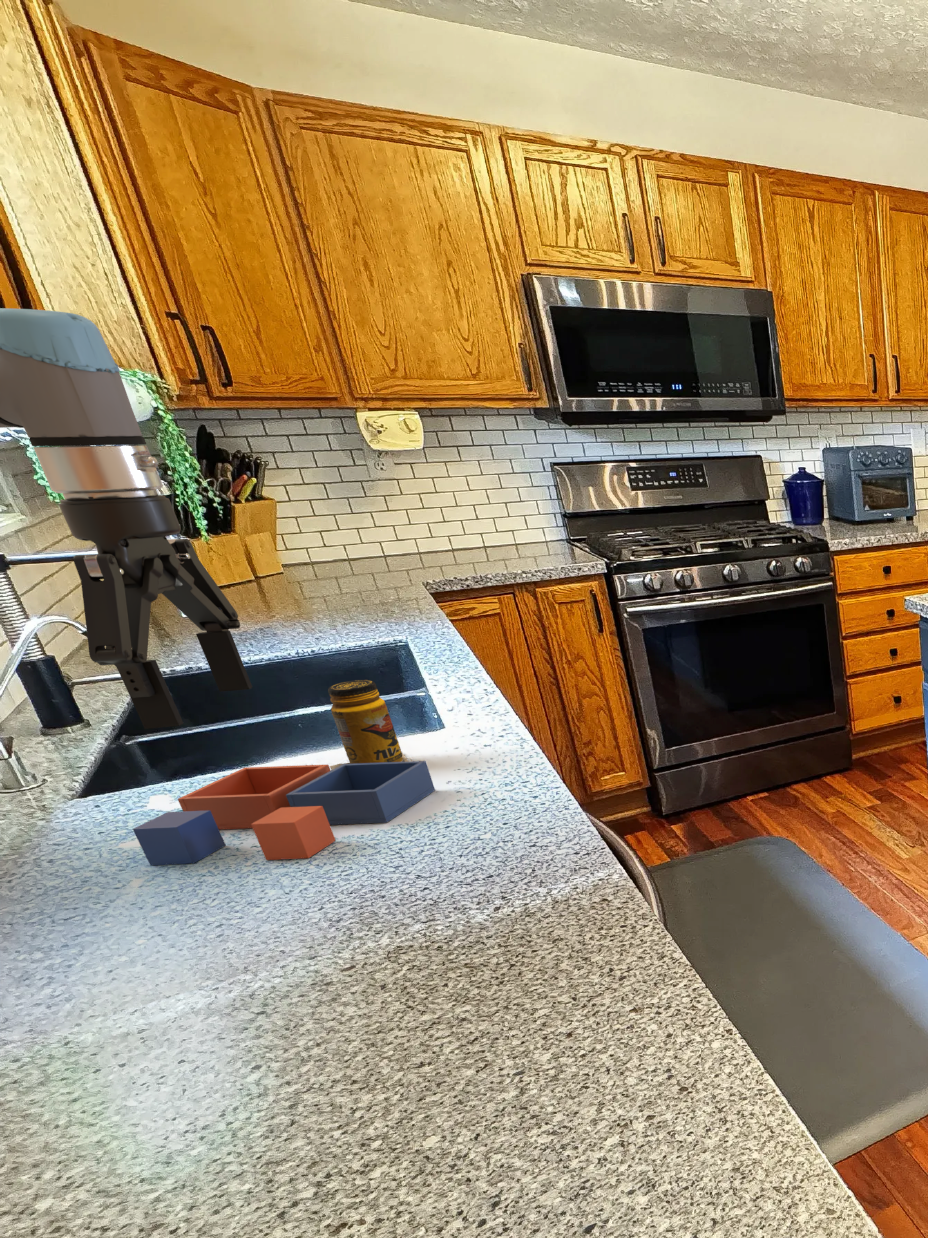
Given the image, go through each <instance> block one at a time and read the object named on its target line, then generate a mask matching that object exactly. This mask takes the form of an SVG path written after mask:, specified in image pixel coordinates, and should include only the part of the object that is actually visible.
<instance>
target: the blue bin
mask: <svg viewBox="0 0 928 1238" xmlns="http://www.w3.org/2000/svg"><path fill="white" fill-rule="evenodd" d="M408 761H409V762H381V763H354V764H344V763H341V764H342V765H340V766H339V767H337V768H335V769H333V770H331V769H330V770H331V771H329V772H327V773H326V774H324V775H322V776H320V777H318V778H316V779H314V780H312V781H311V782H309V783H307V784H305V785H303V786H301V787H299V788H297V789H296V790H294V791H292V792H290V793H288V794H286V797H287V799H288V802H289V804H290V807H308V806H323V809H324V811H325V814H326V816H327V819H328V822H329V824H330V826H339V825H363V824H385V823H389V822H390V821H392V820H393V819H395V818H396V817H398V816H399V815H401V814H402V813H404V812H406V810H409V808H411V807H412V806H414V805H415V804H417V803H418V802H420V801H421V800H423V799H425V798H426V797H428V796H429V795H430V794H432V793H433V792H435V791H436V789H435V786H434V782H433V780H432V779H433V778H432V776H431V773H430V769H429V765H428V764H427V761H426V760H408Z"/></svg>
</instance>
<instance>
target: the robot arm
mask: <svg viewBox="0 0 928 1238" xmlns="http://www.w3.org/2000/svg"><path fill="white" fill-rule="evenodd" d="M2 428H3V429H5V428H18V429H24V431H25V433H26V435H27V437H28V438H29V439H28V440H29V442H30V445H31V446H32V447H33V450H34V453H35V454H36V457H37V459H38V462H39V465H40V466H41V469H42V471H43V474H44V476H45V479H46V480H47V483H48V486H49V487H50V490H51V491H52V492H54V493H55V494H62V496H63V499H60V500H59V503H58V506H59V509H60V510H61V513H62V516H63V518H64V520H65V522H66V524H67V526H68V528H69V531H70V533H71V535H72V537H73V538H75V539H77V540H79V541H86V542H89V541H90V542H92V543H93V544H95V548H96V551H97V554H95V553H94V554H76V555H74V556H73V559H72V560H73V563H74V566H75V569H76V571H77V574H78V577H79V580H80V585H81V591H82V592H81V594H82V601H83V608H84V609H83V611H84V619H85V629H86V637H87V647H88V655H89V659H91V661H92V662H93V663H97V664H98V665H99V666H112V665H113V666H115V668H116V669H117V671H118V674H119V676H120V678H121V680H122V683H123V685H124V687H125V689H126V691H127V693H128V695H129V698H130V701H131V702H132V704H133V706H134V708H135V711H136V713H137V715H138V717H139V719H140V722H141V724H142V726H143V728H144V730H147V729H148V730H149V729H159V728H170V727H171V728H172V727H180V726H182V725H184V721H183V719H182V717H181V715H180V713H179V710H178V708H177V706H176V703H175V701H174V699H173V696H172V694H171V692H170V689H169V688H168V685H167V683H166V680H165V678H164V675H163V673H162V671H161V669H160V667H159V665H158V661H157V660H156V659H148V649H149V636H150V624H151V623H150V622H151V608H152V603H153V602H154V601H156V600H157V599H158V598H159V595H160V594H161V595H163V596H164V597H165V598H166V599H167V600H168V601H169V602H171V604H172V605H174V606H175V607H176V609H178V610H179V611H180V612H181V613H182V614H184V616H185V617H186V618H188V619H189V620H190V621H191V622H192V623H193V624H194V625H195V626H196V627H197V628H198V629H199V630H200V631H201V632H197V633H195V636H196V638H197V640H198V643H199V644H200V648H201V650H202V653H203V655H204V657H205V660H206V662H207V664H208V667H209V669H210V672H211V674H212V677H213V679H214V681H215V684H216V686H217V688H218V691H219V692H232V691H234V692H235V691H246V690H251V689H253V685H252V682H251V680H250V677H249V674H248V673H247V670H246V667H245V665H244V662H243V660H242V657H241V655H240V652H239V649H238V647H237V644H236V642H235V640H234V637H233V635H232V632H231V630H236V629H237V630H239V629H240V628H241V622H240V620H239V614H238V612H237V610H236V608H235V607H234V606H233V605H232V604H231V602H230V601H229V599H228V598H227V596H226V595H225V593H224V592H223V591H222V590H221V588H220V587H219V586H218V584H217V583H216V581H215V580H214V579H213V577H212V575H211V574H210V573H209V571H208V570H207V569H206V567H205V566H204V565H203V563H202V562H201V560H200V559H199V557H198V555H197V553H196V550H195V548H194V547H193V544H192V542H191V541H190V540H189V539H188V538H170V539H168V538H167V537H169V536H174V535H177V534H179V533H180V532H181V530H182V529H181V525H180V522H179V520H178V518H177V517H178V516H177V515H176V513H175V510H174V508H173V505H172V503H171V501H170V498H169V497H168V498H167V497H166V495H164V494H158V491H157V490H161V489H162V488H163V486H164V484H163V481H162V480H161V477H160V474H159V472H158V469H157V466H158V465H159V461H158V460H157V458H155V456H152V455H151V452H150V450H149V448H148V445H147V442H146V439H145V437H144V436H143V434H142V431H141V429H140V425H139V423H138V420H137V418H136V415H135V412H134V409H133V407H132V404H131V401H130V399H129V396H128V393H127V390H126V388H125V384H124V381H123V379H122V376H121V373H120V368H119V365H118V364H117V362H115V359H114V358H113V356H112V353H111V351H110V350H109V347H108V345H107V343H106V341H105V339H104V337H103V335H102V333H101V331H100V329H99V328H98V326H97V325H96V324H95V323H94V322H93V321H92V320H91V319H90V318H87V317H85V316H84V315H80V314H78V313H73V312H66V311H57V310H47V309H46V310H44V309H33V308H31V309H30V308H12V307H11V308H10V307H9V308H8V307H7V308H4V307H2V308H1V307H0V429H2Z"/></svg>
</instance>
